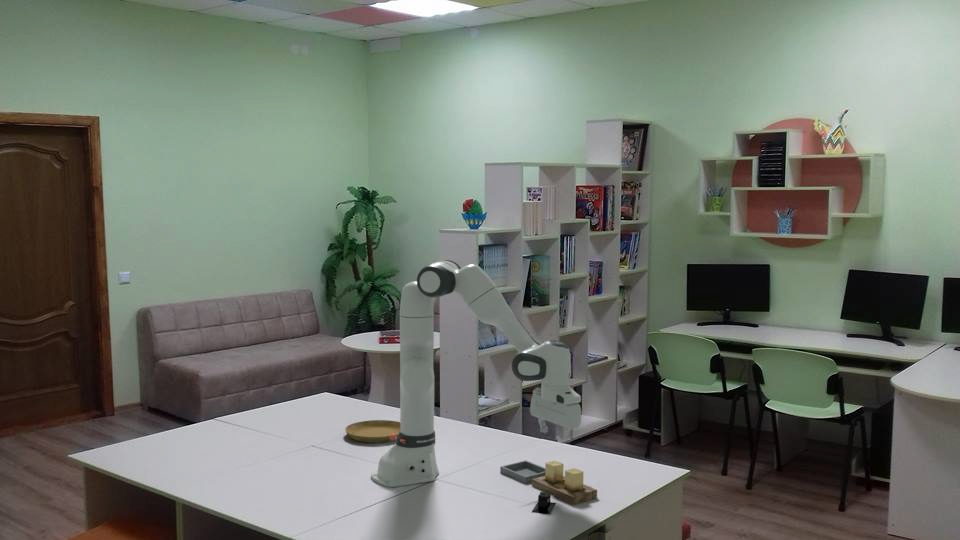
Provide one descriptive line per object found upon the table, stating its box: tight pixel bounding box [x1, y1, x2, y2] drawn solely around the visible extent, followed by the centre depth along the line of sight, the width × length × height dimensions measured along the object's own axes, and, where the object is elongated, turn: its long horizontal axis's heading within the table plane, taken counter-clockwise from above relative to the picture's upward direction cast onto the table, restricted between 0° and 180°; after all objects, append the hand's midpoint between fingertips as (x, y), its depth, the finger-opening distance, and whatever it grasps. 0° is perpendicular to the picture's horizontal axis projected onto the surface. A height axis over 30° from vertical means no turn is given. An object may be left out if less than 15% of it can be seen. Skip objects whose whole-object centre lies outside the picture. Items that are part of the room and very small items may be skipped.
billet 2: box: [564, 468, 584, 493], centre depth 255 cm, size 4×4×8 cm
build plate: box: [531, 491, 557, 515], centre depth 246 cm, size 12×7×5 cm, turn 163°
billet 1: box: [544, 460, 564, 485], centre depth 262 cm, size 4×4×8 cm
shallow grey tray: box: [499, 460, 545, 485], centre depth 274 cm, size 11×13×2 cm
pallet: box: [531, 475, 598, 506], centre depth 259 cm, size 10×19×2 cm, turn 37°
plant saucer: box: [344, 419, 400, 444], centre depth 319 cm, size 24×24×3 cm
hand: (553, 436), depth 261 cm, fingers open, 8 cm apart
